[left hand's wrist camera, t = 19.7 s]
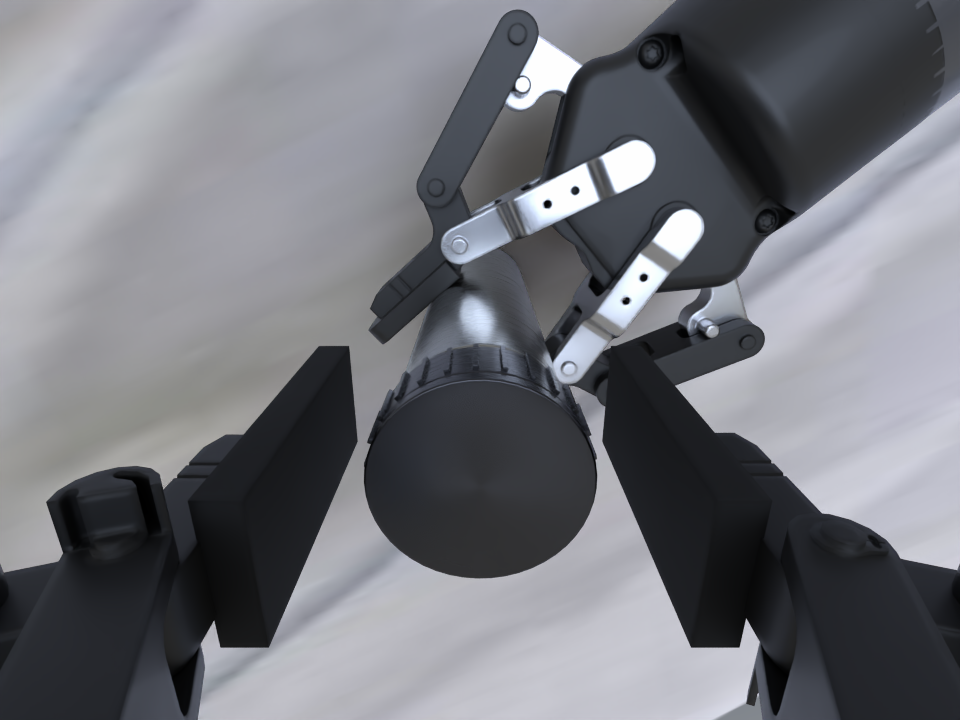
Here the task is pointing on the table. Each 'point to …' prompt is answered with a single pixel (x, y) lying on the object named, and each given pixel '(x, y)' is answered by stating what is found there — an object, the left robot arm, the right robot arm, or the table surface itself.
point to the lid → (480, 463)
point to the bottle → (482, 313)
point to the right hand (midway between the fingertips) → (425, 375)
